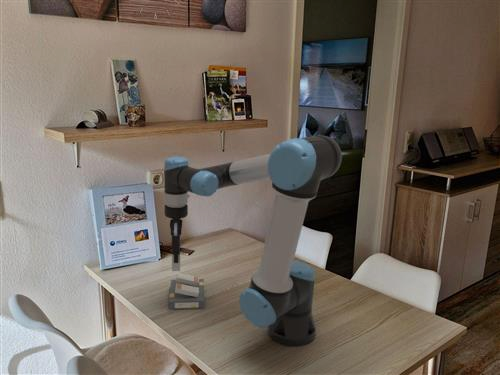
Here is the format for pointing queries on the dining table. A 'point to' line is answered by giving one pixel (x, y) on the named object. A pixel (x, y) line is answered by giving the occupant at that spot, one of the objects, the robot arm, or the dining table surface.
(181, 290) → the rocker front
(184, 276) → the rocker rear
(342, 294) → the dining table surface
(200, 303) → the switch unit
